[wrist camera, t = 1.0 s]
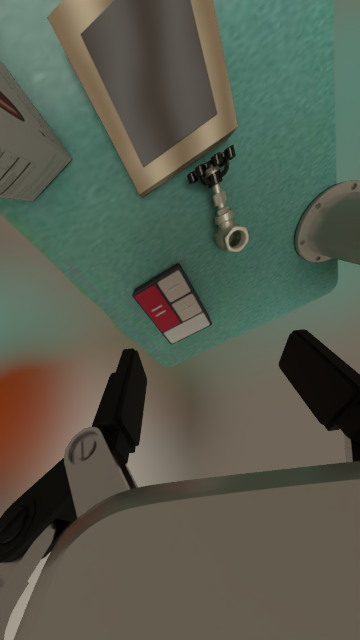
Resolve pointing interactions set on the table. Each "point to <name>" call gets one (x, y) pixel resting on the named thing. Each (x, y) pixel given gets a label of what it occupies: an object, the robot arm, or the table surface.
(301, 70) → the table surface
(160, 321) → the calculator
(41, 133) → the supplement box
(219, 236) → the valve
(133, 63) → the tapered tan tray
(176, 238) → the table surface
